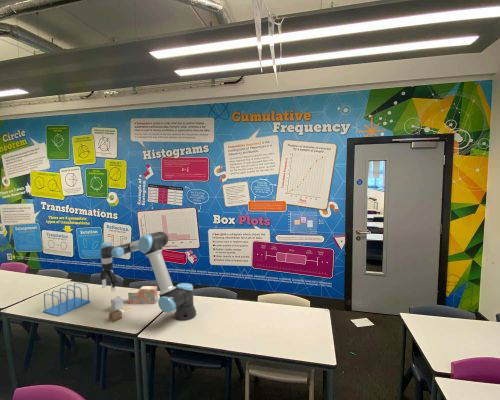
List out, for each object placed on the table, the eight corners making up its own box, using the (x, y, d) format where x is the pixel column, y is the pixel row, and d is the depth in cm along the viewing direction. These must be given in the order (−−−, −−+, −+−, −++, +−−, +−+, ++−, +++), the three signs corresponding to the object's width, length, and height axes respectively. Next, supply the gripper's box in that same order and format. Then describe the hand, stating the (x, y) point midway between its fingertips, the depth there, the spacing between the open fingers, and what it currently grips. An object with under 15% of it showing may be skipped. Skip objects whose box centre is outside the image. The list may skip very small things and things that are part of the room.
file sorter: (58, 317, 193) (57, 297, 192) (42, 313, 199) (41, 293, 198) (90, 302, 216) (89, 284, 215) (75, 299, 222) (74, 281, 221)
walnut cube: (122, 319, 189) (121, 311, 189) (113, 323, 184) (113, 315, 184) (117, 317, 193) (117, 309, 192) (109, 320, 188) (108, 312, 187)
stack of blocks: (128, 304, 213) (127, 289, 212) (132, 300, 220) (131, 285, 219) (155, 304, 213) (154, 289, 212) (157, 300, 219) (157, 286, 218)
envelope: (134, 309, 203) (134, 309, 203) (113, 318, 190) (113, 318, 190) (122, 304, 213) (122, 303, 213) (102, 312, 200) (102, 312, 199)
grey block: (123, 308, 205) (122, 298, 204) (115, 311, 200) (115, 301, 199) (119, 306, 208) (118, 296, 208) (111, 309, 203) (110, 299, 203)
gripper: (120, 264, 204) (122, 291, 206) (103, 259, 218) (105, 284, 220) (110, 266, 198) (112, 294, 199) (94, 261, 212) (95, 287, 214)
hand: (108, 289), depth 210 cm, fingers open, 13 cm apart
